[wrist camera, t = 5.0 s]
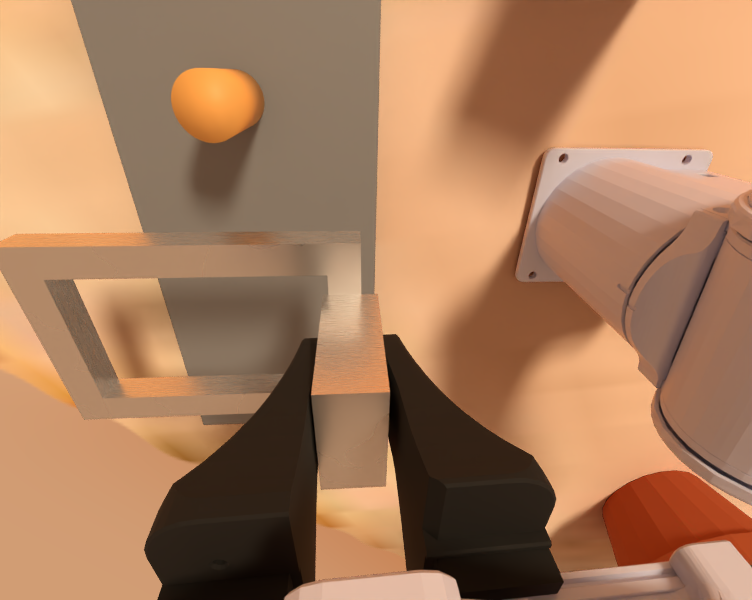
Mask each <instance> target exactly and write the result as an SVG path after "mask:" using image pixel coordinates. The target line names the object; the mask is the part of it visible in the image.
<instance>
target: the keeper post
mask: <svg viewBox="0 0 752 600" xmlns="http://www.w3.org/2000/svg"><path fill="white" fill-rule="evenodd" d="M171 103H172V108H173V111H174V114H175V116H176V118H177V120H178V122H179V123H180V125H181V126H182V127H183V128H184V129H185V130H186V131H187V132H188V133H189V134H190V135H192V136H193V137H195V138H197V139H199V140H201V141H204V142H208V143H220V142H223V141H226V140H228V139H230V138H231V137H233V136H235V135H237V134H238V133H240V132H242V131H244V130H246V129H247V128H249V127H251V126H253V125H254V124H256V123H257V122H258V121H259V120H260V118H261V117H262V115H263V112H264V105H265V103H264V96H263V92H262V90H261V88H260V86H259V84H258V83H257V82H256V80H255V79H254V78H253V77H252V76H250V75H249V74H247V73H246V72H244V71H241V70H237V69H219V68H192V69H189V70H186V71H185V72H183V73H182V74H180V75H179V76H178V78H177V79H176V80H175V82H174V84H173V87H172V91H171Z"/></svg>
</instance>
